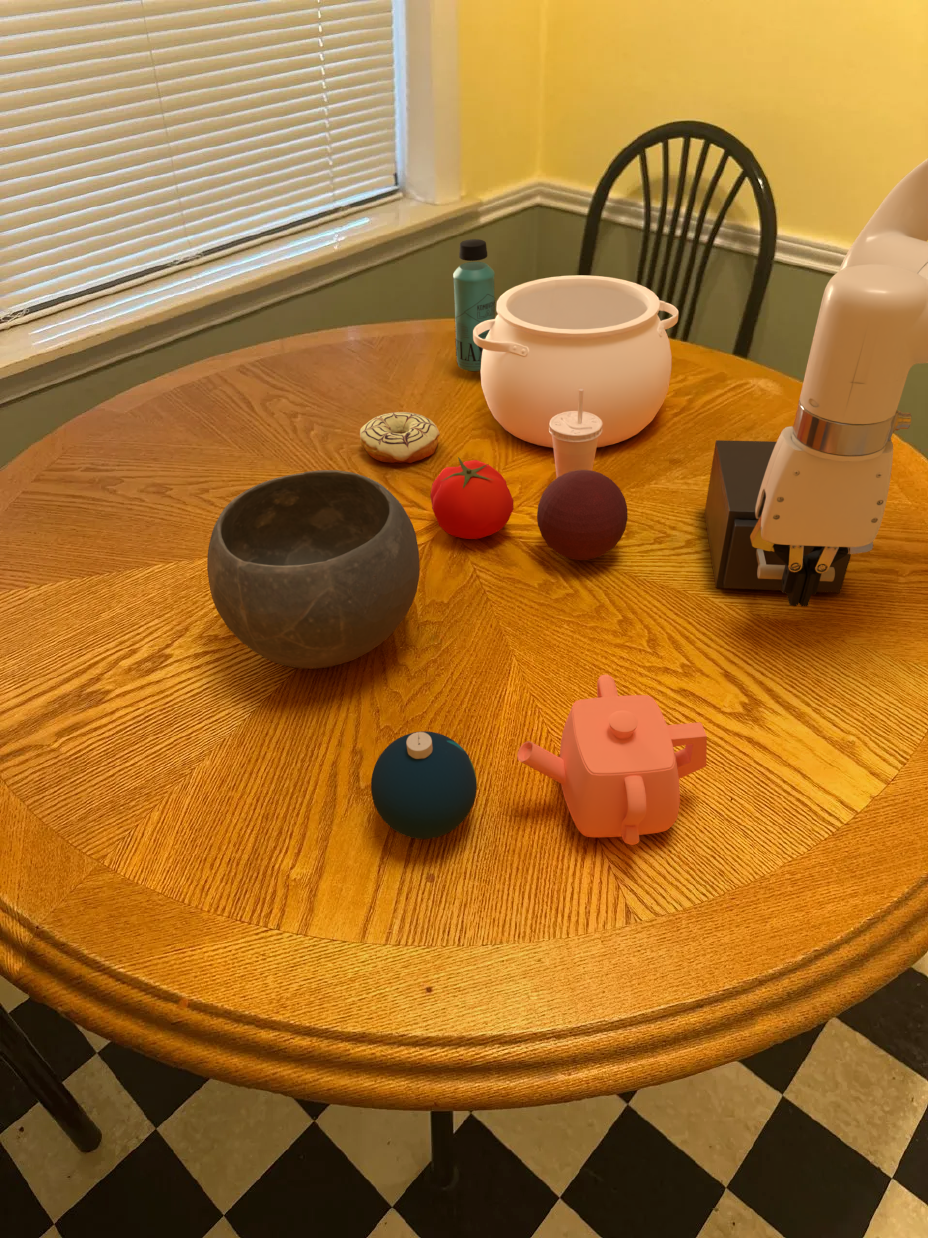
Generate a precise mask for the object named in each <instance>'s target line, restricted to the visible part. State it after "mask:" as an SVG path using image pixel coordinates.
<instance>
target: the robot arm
mask: <svg viewBox="0 0 928 1238" xmlns="http://www.w3.org/2000/svg"><path fill="white" fill-rule="evenodd" d="M807 360H808V361H807V364H806V368H805V373H804V378H803V382H802V386H801V391H800V395H799V399H798V404H797V407H796V412H795V416H794V421H793V425H791V426H786V427H785V428H783V429H782V430H781V432H780V434H779V436H778V438H777V441H775V442H776V445H775V447H774V449H773V452H772V455H771V457H770V460H769V463H768V466H767V469H766V472H765V475H764V478H763V481H762V484H761V488H760V491H759V495H758V499H757V503H756V509H755V515H756V519H759V520H758V522H757V524H756V526H755V528H754V529H753V531H752V533H751V535H750V539H751V543H752V546H753V547H754V548H758V549H762V550H766V551H773V552H775V553H776V554H777V555H778V556H779V557H780V559H781V560H782V561H783V562H784V563H785V568H784V572H783V576H782V580H781V590H782V591H781V593H782V594H785V595H786V597H787V601H788V604H789V606H790V607H797V606H798V605H799V606H801V607H803V608H804V607H808V606H809V603H810V600H811V597H812V595H816V594H817V593H818V592H817V588H818V585H819V581H820V578H821V574H822V573H825V572H826V571H828V569H829V567H830V565H831V564H833V563H834V562H836V561H838V560H839V559H841V558H843V557H844V556H846V555H847V554H850V555H851V556H852V555H858V554H862V553H868V552H871V551H872V550H873V549H874V541H875V539H876V538H877V535H878V534H879V531H880V529H881V525H882V521H883V518H884V514H885V510H886V506H887V500H888V496H889V490H890V486H891V485H890V484H891V478H892V470H893V460H894V459H893V458H894V443H893V441H892V437H893V434H894V433H895V431H900V430H908V429H910V427H911V424H912V418H913V417H912V413H911V412H902V410H898V407H899V405H900V401H901V398H902V395H903V391H904V388H905V384H906V382H907V378H908V375H909V371H911V368H912V367H913V366H915V365H918V364H928V157H927V158H926V159H924V160H923V161H922V162H920V163H919V164H917V165H916V166H915V167H914V168H913V169H911V170H910V171H909V172H908V173H907V174H906V175H904V176H903V178H901V179H900V180H899V181H898V182H897V183H896V184H895V185H894V186H893V188H892V189H891V190H890V191H889V192H888V193H887V195H886V196H885V197H884V199H883V200H882V202H881V203H880V204H879V206H878V207H877V209H876V210H875V211H874V213H873V214H872V216H870V217H869V219H868V221H867V222H866V224H865V225H864V226H863V228H862V229H861V231H860V232H859V234H858V235H857V236H856V238H855V239H854V241H853V242H852V244H851V246H850V248H849V249H848V250H847V253H846V254H845V256H844V258H843V260H842V262H841V264H840V266H839V269H838V271H837V272H836V273H835V274H834V275H832V276H831V278H830V279H829V281H828V282H827V284H826V286H825V288H824V291H823V295H822V298H821V302H820V306H819V310H818V316H817V320H816V324H815V328H814V334H813V337H812V341H811V345H810V351H809V355H808V358H807ZM804 546H812V547H811V549H810V553H809V554H808V555H804V558H803V550H804Z"/></svg>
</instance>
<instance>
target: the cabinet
mask: <svg viewBox="0 0 928 1238" xmlns="http://www.w3.org/2000/svg"><path fill="white" fill-rule="evenodd" d="M776 442H777V441H773V440H772V441H770V440H769V441H765V440H720V439H719V440H718V439H717V440H715V444H714V449H713V456H712V463H711V469H710V476H709V481H708V488H707V495H706V501H705V508H704V519H705V526H706V532H707V538H708V545H709V552H710V558H711V565H712V572H713V579H714V585H715V589H725V588H724V585H723V578H724V572H725V567H726V561H727V556H728V551H729V545H730V540H731V534H732V529H733V524H734V519H737V518H738V519H756V515H755V509H756V503H757V499H758V495H759V491H760V488H761V484H762V481H763V478H764V475H765V472H766V469H767V466H768V463H769V460H770V457H771V455H772V452H773V449H774V447H775V445H776ZM851 556H852V554H851V555H849V558H848V562H847V565H846V569H845V572H844V575H843V579H842V582H841V585H840V589H839V592H838V593H837V594H840V593H841V591H842V587H843V584H844V581H845V577H846V573H847V570H848V567H849V565H850V564H849V563H850V560H851ZM731 589H733V590H734V589H735V590H736V589H737V588H731ZM737 590H738V589H737ZM754 590H758V591H762V590H761V589H754ZM778 591H781V592H782V590H778ZM826 593H829V594H833V593H832V592H826Z"/></svg>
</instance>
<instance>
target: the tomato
mask: <svg viewBox="0 0 928 1238" xmlns="http://www.w3.org/2000/svg"><path fill="white" fill-rule="evenodd" d="M457 459H458V462H459V464H460V465H459V466H446V467H444V468H443V469H442V470H441V472H440V473H439V474H438V475H437V477H436V478H435V479H434V481H433V482H432V483H431V484H432V485H431V489H430V494H429V495H430V501H431V509H432V512H433V514H434V517H435V519H436V522H437V524H438V526H439V528H441V529H442V530H443V531H444V532H445V533H446V534H448V535H450V536H451V537H455V538H460V539H464V540H478V539H482V538H485V537H490V536H491V535H494V534H496V533H497V532H499V531H501V530H502V529H503V528H504V527H505V526H506V524H507V523H508V522H509V520H510V519H511V516H512V514H513V512H514V507H515V506H514V505H515V504H514V499H513V496H512V493H511V491H510V488H509V486H508V485H507V481H506V479H505V478H504V476H503V475H502V474H501V473H500V472H499V471H498V470H497V469H495V468H494V467H493V466H491V465H490V464H489V463H485V462H482V461H481V460H477V459H472V460H466V461H464V462H463V461H462V460H461V458H460V457H458V456H457Z"/></svg>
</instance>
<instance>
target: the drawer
mask: <svg viewBox="0 0 928 1238" xmlns="http://www.w3.org/2000/svg"><path fill="white" fill-rule="evenodd" d="M757 522H758V520H751V519H738V518H737V519H734V524H733V529H732V534H731V540H730V545H729V551H728V556H727V561H726V567H725V572H724V578H723V585H724V588H723V589H732V588H737V590H755V589H761V590H760V591H779V590H781V580H782V576H783V572H784V568H785V563H784V562H783V561H782V560H781V559H780V557H779V556H778V555H777V554H776V553H775V552H773V551H766V550H762V549H758V548H754V547H753V546H752V543H751V539H750V535H751V533H752V531H753V529H754V528H755V526H756V524H757ZM811 547H812V546H804V550H803V558H804V555H808V554H809V553H810V549H811ZM849 555H850V554H847V555H846V556H844V557H843V558H841V559H839V560H838V561H836V562H834V563H833V564H831V565H830V567H829V569H828V571H826V572H825V573H822V574H821V578H820V581H819V585H818V588H817V592H816V593H827V592H832V593H831V594H839V593H838V592H839V589H840V585H841V582H842V579H843V575H844V572H845V569H846V565H847V562H848V558H849Z"/></svg>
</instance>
